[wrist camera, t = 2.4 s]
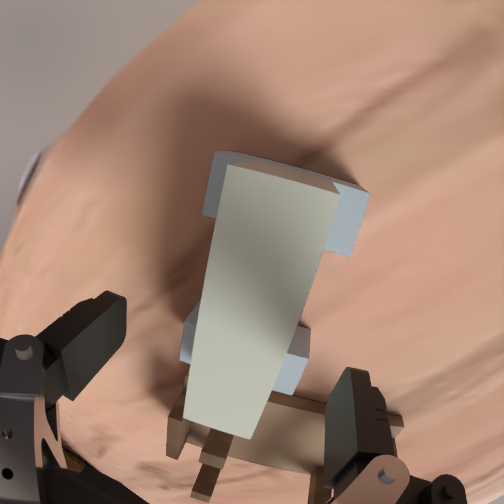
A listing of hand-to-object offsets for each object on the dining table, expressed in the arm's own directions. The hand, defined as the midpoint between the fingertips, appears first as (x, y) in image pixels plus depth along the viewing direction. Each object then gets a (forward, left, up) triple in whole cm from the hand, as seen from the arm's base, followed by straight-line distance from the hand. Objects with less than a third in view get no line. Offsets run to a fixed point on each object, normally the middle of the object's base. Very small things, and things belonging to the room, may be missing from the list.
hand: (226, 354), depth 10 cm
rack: (-5, +14, -8) cm, 17 cm away
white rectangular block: (0, 0, -5) cm, 5 cm away
